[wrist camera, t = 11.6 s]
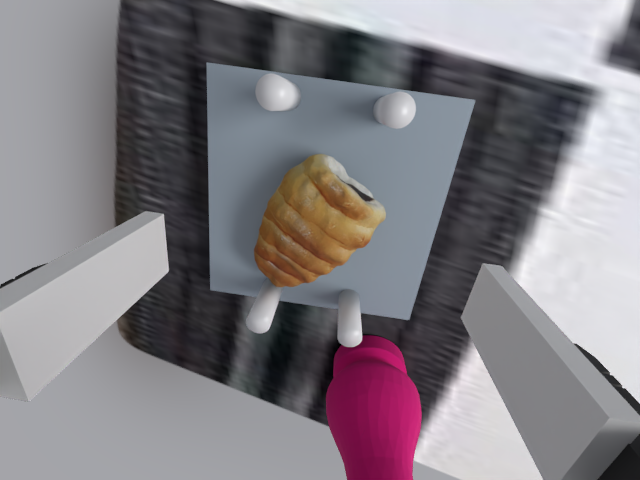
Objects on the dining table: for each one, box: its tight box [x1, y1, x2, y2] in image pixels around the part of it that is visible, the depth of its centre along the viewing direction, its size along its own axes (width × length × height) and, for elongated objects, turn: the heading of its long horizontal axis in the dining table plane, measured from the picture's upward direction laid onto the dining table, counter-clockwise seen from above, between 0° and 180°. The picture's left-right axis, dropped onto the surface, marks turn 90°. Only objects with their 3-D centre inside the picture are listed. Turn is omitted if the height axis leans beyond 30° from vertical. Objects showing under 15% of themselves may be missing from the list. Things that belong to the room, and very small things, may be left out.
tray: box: [207, 63, 475, 347], centre depth 20 cm, size 16×16×6 cm
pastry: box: [254, 154, 386, 287], centre depth 20 cm, size 9×7×4 cm
